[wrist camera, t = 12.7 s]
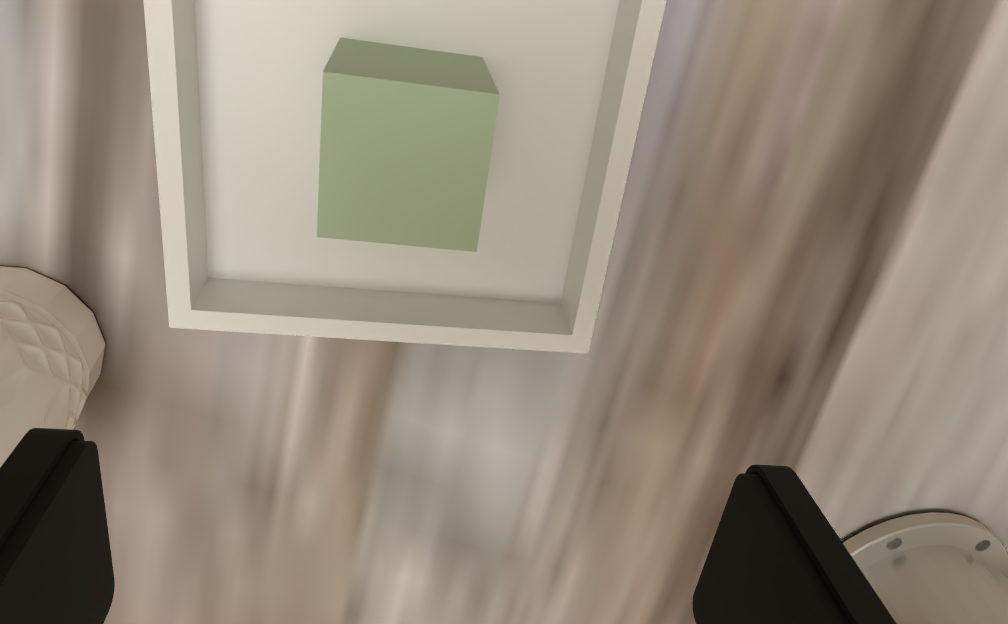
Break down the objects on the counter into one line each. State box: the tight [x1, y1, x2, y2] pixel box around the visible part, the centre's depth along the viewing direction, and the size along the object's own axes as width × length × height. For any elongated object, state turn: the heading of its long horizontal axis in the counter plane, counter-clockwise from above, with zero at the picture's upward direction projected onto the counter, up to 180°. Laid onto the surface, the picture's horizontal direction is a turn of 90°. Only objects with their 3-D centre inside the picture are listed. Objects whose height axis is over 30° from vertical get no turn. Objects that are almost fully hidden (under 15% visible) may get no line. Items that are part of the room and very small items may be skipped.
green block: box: [317, 38, 500, 252], centre depth 25 cm, size 5×5×6 cm
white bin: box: [144, 0, 666, 354], centre depth 27 cm, size 16×16×4 cm
